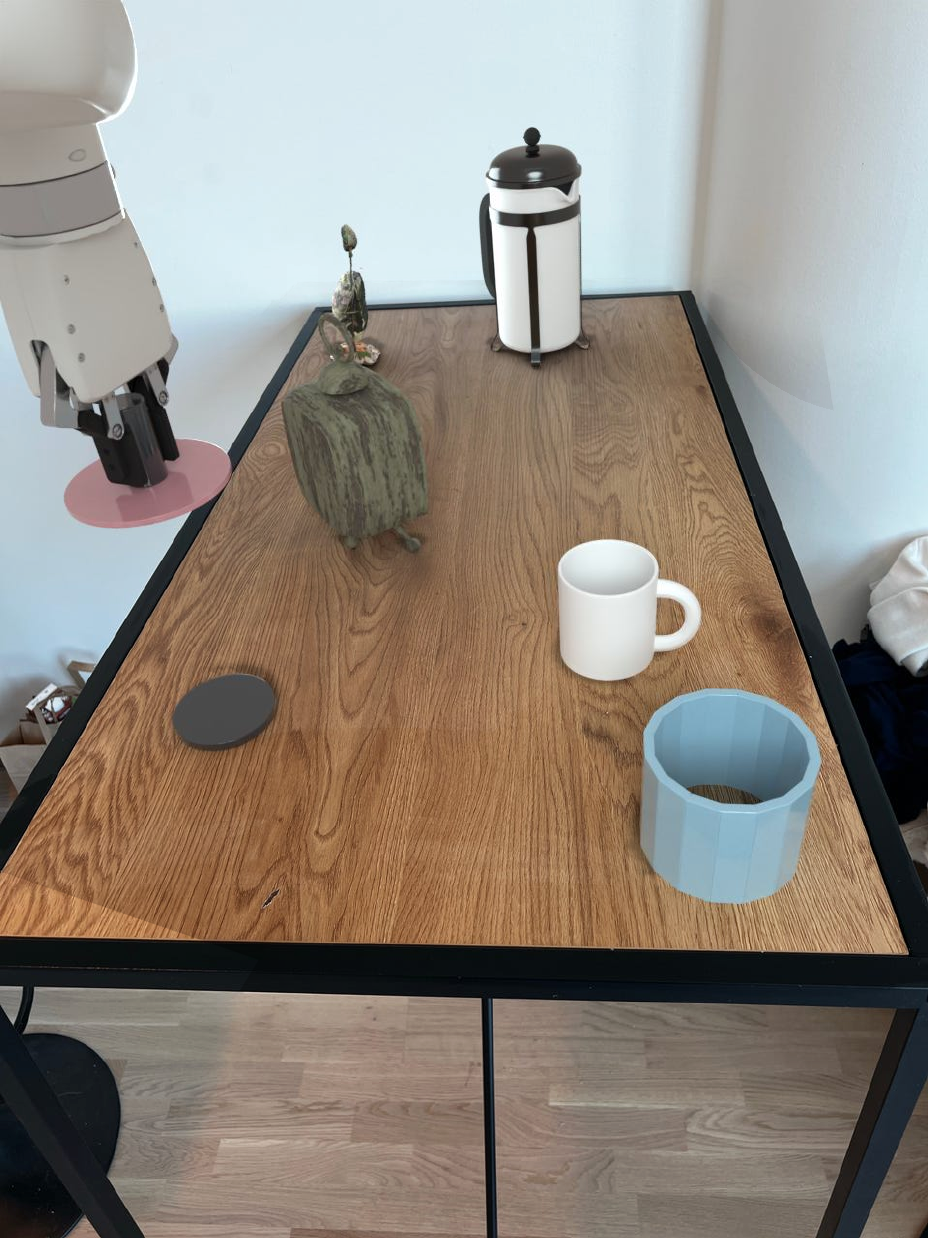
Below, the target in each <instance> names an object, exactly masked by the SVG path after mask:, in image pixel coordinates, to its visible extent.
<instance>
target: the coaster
mask: <svg viewBox="0 0 928 1238" xmlns="http://www.w3.org/2000/svg"><path fill="white" fill-rule="evenodd" d="M277 706H278V703H277V698H276V694H275V691H274V689H273V687H272V686H271V684H269V683H268V682H267V681H266V680H265V679H263V678H261V677H259V676H256V675H252V674H248V673H229V674H223V675H219V676H215V677H212V678H210V679H207V680H205V681H202V682H200V683H199V684H198V685H196V686H194V687H193V688H191V689H190V690H188V691H187V692H186V693H185V694H184V695H183V697H181V699H180V700H179V701H178V703H177V704H176V706H175V708H174V710H173V714H172V726H173V728H174V731H175V734H176V736H177V737H178V739H179V740H180V741H181V742H182V743H183V744H185V745H186V746H188V747H190V748H193V749H195V750H200V751H207V752H217V751H224V750H230V749H232V748H237V747H239V746H241V745H244V744H245V743H248V742H250V741H251V740H253V739H254V738H256V737H257V736H259V735H260V734H261V733H262V732H264V731H265V730H266V729H267V727H268V726H269V725H270V724H271V723H272V721H273V720H274V717H275V715H276V713H277V708H278V707H277Z"/></svg>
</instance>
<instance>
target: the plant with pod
mask: <svg viewBox="0 0 928 1238" xmlns="http://www.w3.org/2000/svg"><path fill="white" fill-rule="evenodd" d="M340 235H341V239H342V246H343V250H344V252H346V253H347V255H348V258H349V270H348V271H345V273H343V274H342V276H341V277H340V278H339V280H338V283H337V286H336V288H335V290H334V291H333V295H332V298H331V302H330V303H331V311H332V316H334V317H335V318H337V319H338V320H339V321H340V322H342V324H343V325H344V326H345V328H346V329H347V331H348V333H349V335H350V337H351V340H352V343H353V348H354V358H353V360H354V361H356V362H358V363H359V364H360V365H367V366H372V365H373V364H375V363H376V362H377V360H378V358H379V355H381V350H379V348H375V345H372V344H370V343H368V344H366V343H365V342H364V341H362V340H363V337H364V334H365V332H366V329H367V327H368V323H369V309H368V306H367V301H366V294H367V293H366V289H365V282H364V280H363V276H362V275H361V273H360V271H356V270H352V267H353V264H352V261H353V260H352V258H353V256H354V254H353V250H355V249H356V247H357V245H358V238H357V235H356V233H355V231H354V230H353V229H352V227H351V226H349V225H348V223H345V224H344V225H343V226H341V228H340ZM361 269H363V268H362V267H359V270H361ZM340 345H341V346H342V347H343V352H344V355H345V356H349V347H348V344H347V342H346V341H345V342H343V343H341V344H340ZM370 350H372V352H371V351H370ZM329 358H330V359H331V360H332V361H334V357H333V356H332V355H331V354H330V356H329Z"/></svg>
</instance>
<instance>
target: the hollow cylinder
mask: <svg viewBox="0 0 928 1238" xmlns="http://www.w3.org/2000/svg"><path fill="white" fill-rule="evenodd" d="M817 740H818V739H817V736H816V735H815V734H814V732H813V731H812V730H811V728H810V727H809V726H808V725H807V724H806V723H805V721H804V720H803V719H802V718H801V717H800V715H798V714H797V713H796V712H794V711H793V710H791V709H790V708H788V707H786V706H785V705H783V704H781V703H780V702H778V701H776V700H775V699H773V698H771V697H768V696H765V695H762V694H758V693H754V692H750V691H747V690H743V689H739V688H710V687H709V688H702V689H699V690H696V691H691V692H688V693H684V694H681V695H677V696H675V697H673V698H672V699H671V700H669V701H668V702H666V703H665V704H664V705H661V707H659V708H658V709H657V710H655V711H654V712H653V714H652V716H651V717H650V720H649V721H648V723H647V725H646V727H645V729H644V730H643V733H642V754H641V755H642V758H641V779H640V781H641V782H640V802H639V846H640V848H641V851H642V852H643V854H644V856H645V857H646V860H647V861H648V863H649V864H650V865H649V866H650V867H651V868H652V870H653V871H654V872H655V873H656V874H657V875H659V876H660V877H661V878H662V879H663V880H664V881H666V882H667V883H668V884H670V885H671V886H672V887H673V888H674V889H675V890H677V891H679V892H682V893H684V894H687V895H689V896H692V897H695V898H697V899H700V900H702V901H705V902H707V903H716V904H738V905H743V904H748V903H752V902H754V901H758V900H762V899H764V898H767V897H771V896H773V895H775V894H777V892H778V891H780V890H781V889H782V888H783V887H784V886H785V885H786V884H787V883H789V882H790V881H791V880H792V879H793V878H794V877H795V875H796V873H797V869H798V866H799V863H800V861H801V857H802V855H803V850H804V846H805V842H806V837H807V833H808V827H809V822H810V818H811V813H812V809H813V804H814V799H815V794H816V790H817V786H818V781H819V776H820V771H821V767H822V757H821V753H820V748H819V743H818V741H817ZM696 786H726V787H729V788H733V789H735V790H739V791H742V792H745V793H748V794H752V795H753V796H754V797H755V798H757V799H759V800H760V801H761V802H759V803H755V804H749V803H748V804H745V803H723V802H719V801H716V800H712V799H711V798H707V797H705V796H701V795H698V794H694V793H692V792H691V791H689V790H688V789H690V788H692V787H693V788H694V787H696Z"/></svg>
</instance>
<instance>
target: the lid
mask: <svg viewBox="0 0 928 1238" xmlns="http://www.w3.org/2000/svg"><path fill="white" fill-rule="evenodd" d="M115 396H116V400H117V403H118V407H119V411H120V415H121V419H122V423H123V426H124V432H126V433H132V435H133V436H134V438H135V441H136V444H137V447H138V450H139V453H140V456H141V459H142V462H143V464H144V467H145V470H146V473H147V476H148V483H147V484H146V485H144V486H143V487H135V486H129V485H122V484H115V483H111V482H110V481H109V480H108V479H107V476H106V473H105V471H104V468H103V465H102V463H101V460H100V458H98V459H97V460H95V461H93V462H92V463H90V464H88V465H87V466H85V467H84V468H83V469H81V470H80V471H79V472H77V474H76V475H75V476H74V477H72V478H71V480H70V481H69V483H68V484H67V486H66V487H65V490H64V493H63V503H64V506H65V508H66V510H67V513H69V515H70V516H71V517H72V518H73V519H75V520H76V521H77V522H79V523H81V524H84V525H87V526H91V527H95V528H102V529H132V528H139V527H146V526H151V525H155V524H159V523H163V522H166V521H171V520H173V519H175V518H178V517H181V516H183V515H186V514H188V513H190V512H192V511H194V510H196V509H198V508H200V507H202V506H203V505H205V504H206V503H208V502H210V501H211V500H212V499H213V498H215V497H216V496H217V495H219V494H220V493H221V492H222V490H223V489H224V488H225V487H226V485H227V484H228V483H229V481H230V479H231V477H232V473H233V465H232V462H231V458H230V455H228V453H227V452H226V451H225V450H224V449H223V448H222V447H220V446H218V445H217V444H214V443H211V442H209V441H206V440H205V441H204V440H199V439H194V438H193V439H191V438H175V441H176V444H177V447H178V451H179V454H180V456H179V458H177V459H176V460H175V461H167V460H165V459H164V456H163V453H162V450H161V447H160V444H159V441H158V438H157V435H156V431H155V428H154V425H153V422H152V419H151V416H150V413H149V410H148V407H147V403H146V400H145V397H144V396H143V395H142V394H139V393H125V392H124V393H120V394H119V393H118V394H115Z"/></svg>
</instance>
